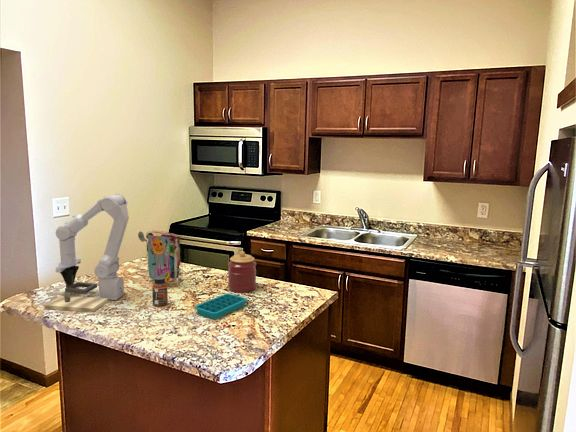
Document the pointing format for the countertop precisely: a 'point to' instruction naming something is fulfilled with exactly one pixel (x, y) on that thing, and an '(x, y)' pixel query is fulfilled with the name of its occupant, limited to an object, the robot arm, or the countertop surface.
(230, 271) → the canister
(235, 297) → the ice cube tray
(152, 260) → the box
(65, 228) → the robot arm
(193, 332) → the countertop surface
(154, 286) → the supplement bottle
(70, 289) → the dark grey frame stand
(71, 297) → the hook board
